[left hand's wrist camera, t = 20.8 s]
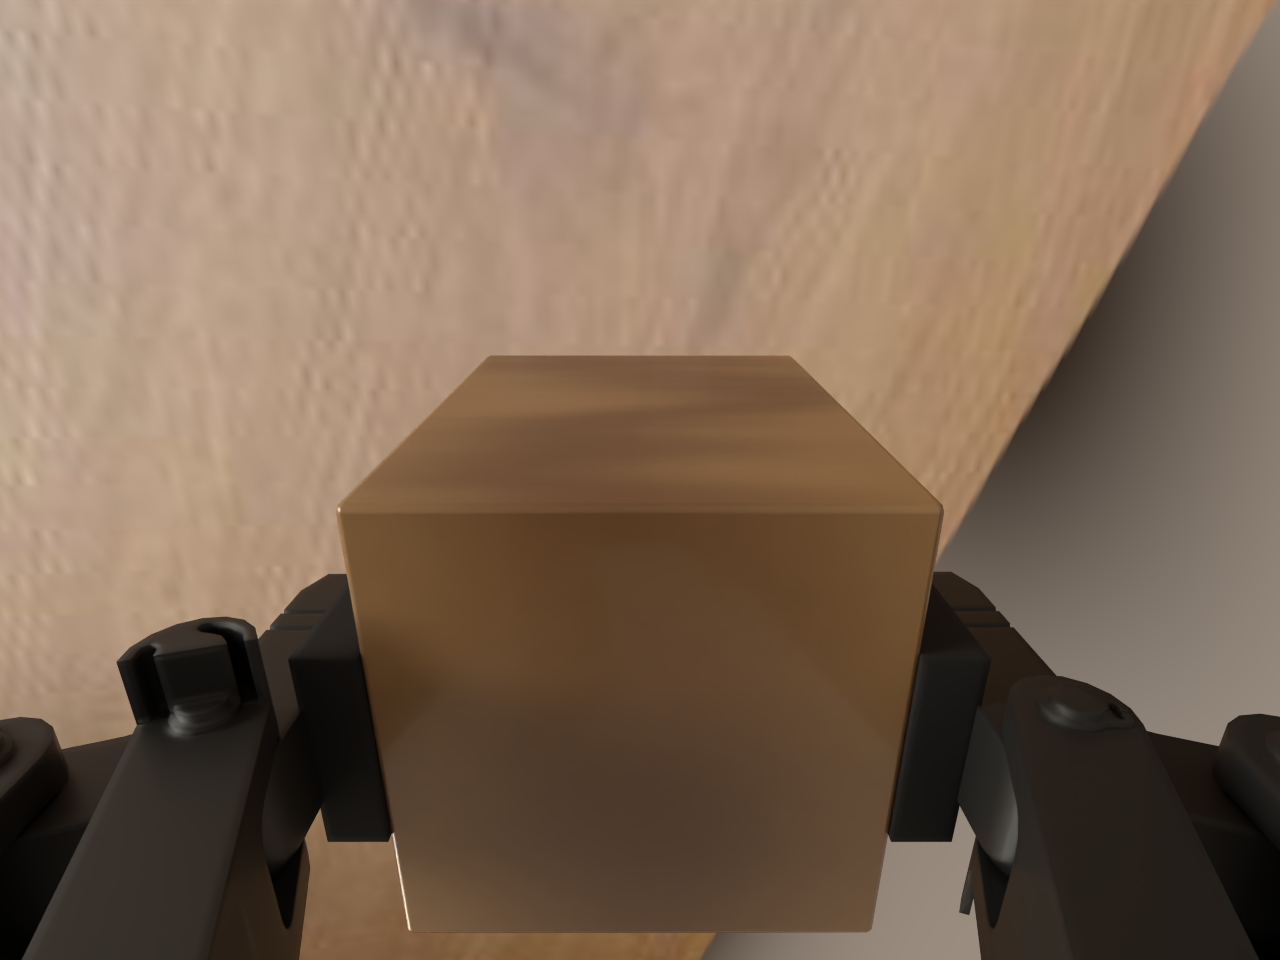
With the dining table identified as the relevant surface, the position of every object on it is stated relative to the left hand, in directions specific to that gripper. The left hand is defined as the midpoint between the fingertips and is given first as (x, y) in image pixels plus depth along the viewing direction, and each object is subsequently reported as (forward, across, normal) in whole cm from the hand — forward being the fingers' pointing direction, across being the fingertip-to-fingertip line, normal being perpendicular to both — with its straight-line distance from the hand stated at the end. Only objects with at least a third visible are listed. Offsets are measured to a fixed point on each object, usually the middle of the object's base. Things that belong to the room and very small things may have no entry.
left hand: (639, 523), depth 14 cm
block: (+1, 0, 0) cm, 1 cm away
